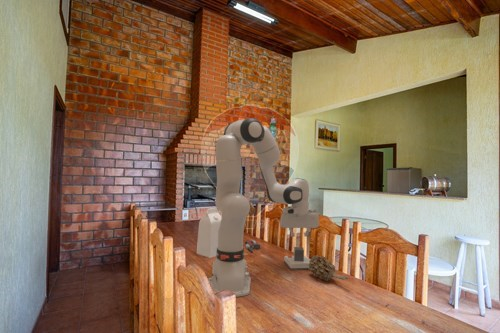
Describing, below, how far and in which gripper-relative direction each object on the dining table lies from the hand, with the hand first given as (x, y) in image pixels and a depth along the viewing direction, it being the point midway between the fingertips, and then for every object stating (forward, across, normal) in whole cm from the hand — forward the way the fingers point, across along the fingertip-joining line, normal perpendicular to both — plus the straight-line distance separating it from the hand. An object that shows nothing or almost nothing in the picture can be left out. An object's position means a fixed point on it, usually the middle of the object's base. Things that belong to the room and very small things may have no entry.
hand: (299, 236), depth 141 cm
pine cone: (+15, -7, +21) cm, 27 cm away
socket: (+15, 0, 0) cm, 15 cm away
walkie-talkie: (+16, +19, -32) cm, 40 cm away
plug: (+14, 0, 0) cm, 14 cm away
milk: (+15, +45, -23) cm, 53 cm away
